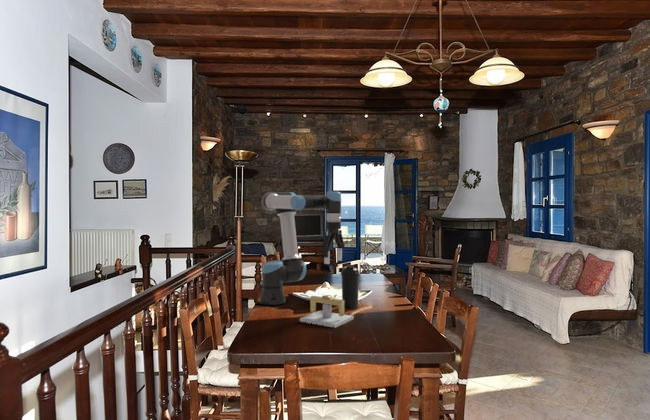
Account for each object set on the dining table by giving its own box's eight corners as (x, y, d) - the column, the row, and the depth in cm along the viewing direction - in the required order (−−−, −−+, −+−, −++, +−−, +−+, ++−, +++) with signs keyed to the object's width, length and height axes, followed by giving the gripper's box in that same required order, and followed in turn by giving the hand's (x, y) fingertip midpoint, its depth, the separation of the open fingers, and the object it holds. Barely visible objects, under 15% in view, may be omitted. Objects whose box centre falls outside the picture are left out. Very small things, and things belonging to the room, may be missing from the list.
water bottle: (359, 305, 247) (359, 264, 247) (359, 309, 237) (359, 267, 237) (341, 304, 248) (341, 264, 248) (340, 309, 238) (340, 266, 238)
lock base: (299, 321, 214) (299, 305, 214) (319, 313, 230) (319, 298, 229) (335, 327, 204) (335, 310, 204) (353, 319, 219) (353, 302, 219)
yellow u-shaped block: (309, 311, 219) (309, 295, 219) (314, 309, 223) (314, 293, 223) (340, 317, 210) (340, 299, 210) (345, 314, 214) (345, 297, 214)
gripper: (328, 222, 216) (327, 265, 217) (350, 220, 238) (350, 259, 239) (315, 222, 220) (314, 264, 221) (338, 220, 242) (338, 258, 242)
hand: (333, 262), depth 230 cm, fingers open, 13 cm apart
